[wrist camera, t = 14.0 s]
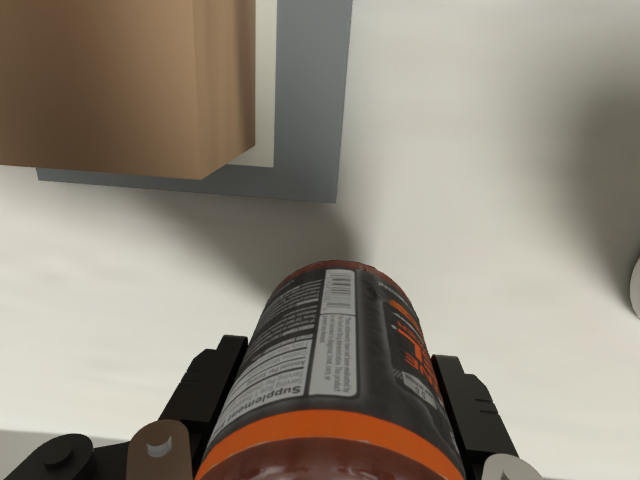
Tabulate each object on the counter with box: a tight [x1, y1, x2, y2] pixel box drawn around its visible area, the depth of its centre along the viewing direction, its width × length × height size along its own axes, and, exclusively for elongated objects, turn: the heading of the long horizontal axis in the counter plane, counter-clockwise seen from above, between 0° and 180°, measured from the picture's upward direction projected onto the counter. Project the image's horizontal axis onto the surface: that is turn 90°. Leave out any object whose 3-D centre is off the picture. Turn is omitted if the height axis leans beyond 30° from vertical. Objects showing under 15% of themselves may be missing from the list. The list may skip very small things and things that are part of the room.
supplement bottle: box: [194, 260, 467, 480], centre depth 10 cm, size 6×6×11 cm
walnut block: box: [0, 0, 256, 180], centre depth 10 cm, size 6×8×6 cm
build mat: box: [36, 0, 353, 203], centre depth 14 cm, size 12×12×1 cm
